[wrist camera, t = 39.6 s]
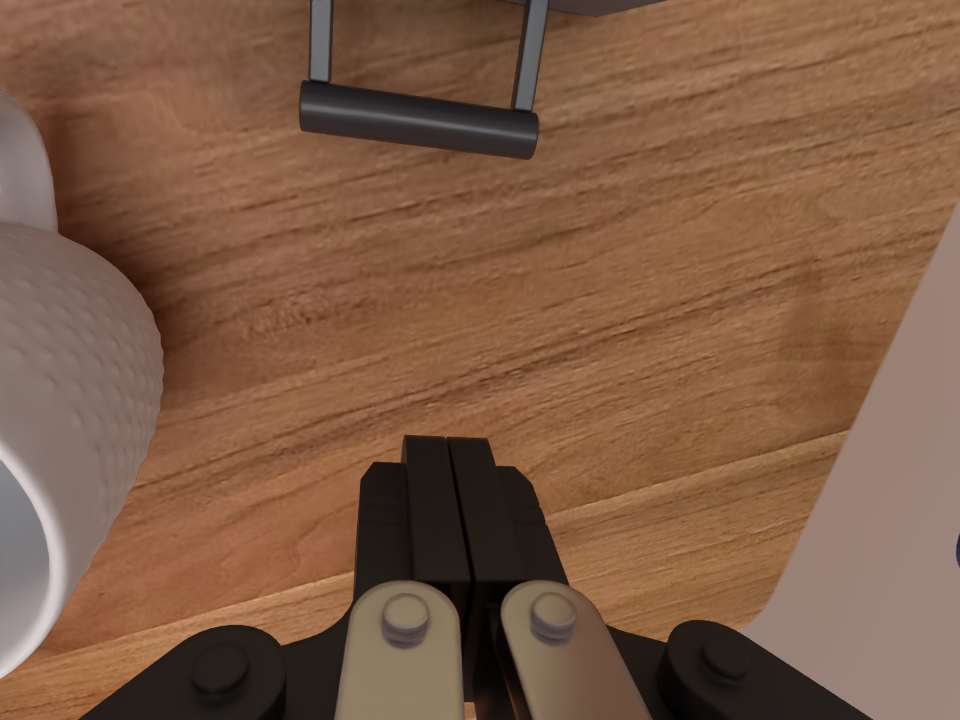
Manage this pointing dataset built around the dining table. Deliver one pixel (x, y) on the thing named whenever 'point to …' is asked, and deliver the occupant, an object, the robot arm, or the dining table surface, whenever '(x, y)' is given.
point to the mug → (61, 394)
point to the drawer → (432, 117)
